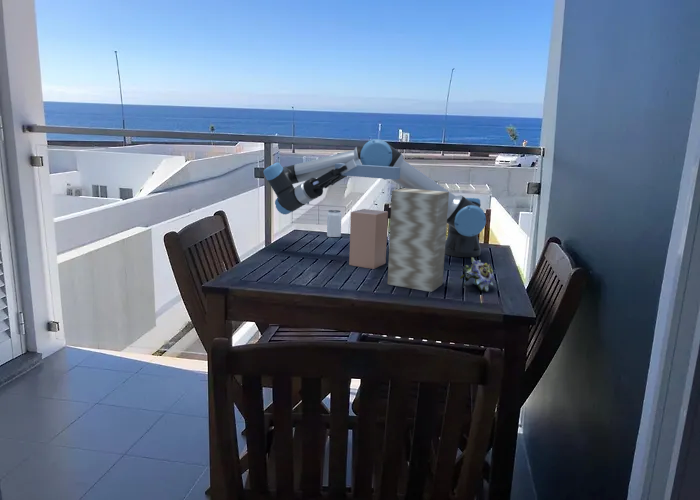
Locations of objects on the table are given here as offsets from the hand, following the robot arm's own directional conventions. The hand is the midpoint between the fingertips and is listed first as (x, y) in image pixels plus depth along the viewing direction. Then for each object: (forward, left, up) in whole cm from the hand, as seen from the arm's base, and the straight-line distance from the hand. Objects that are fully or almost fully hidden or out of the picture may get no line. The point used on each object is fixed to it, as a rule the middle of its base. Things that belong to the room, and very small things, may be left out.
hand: (357, 162), depth 188 cm
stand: (-21, +26, -37) cm, 50 cm away
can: (+12, -48, -37) cm, 62 cm away
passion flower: (-40, +27, -37) cm, 61 cm away
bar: (-3, +2, -5) cm, 6 cm away
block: (-5, +2, -37) cm, 37 cm away
